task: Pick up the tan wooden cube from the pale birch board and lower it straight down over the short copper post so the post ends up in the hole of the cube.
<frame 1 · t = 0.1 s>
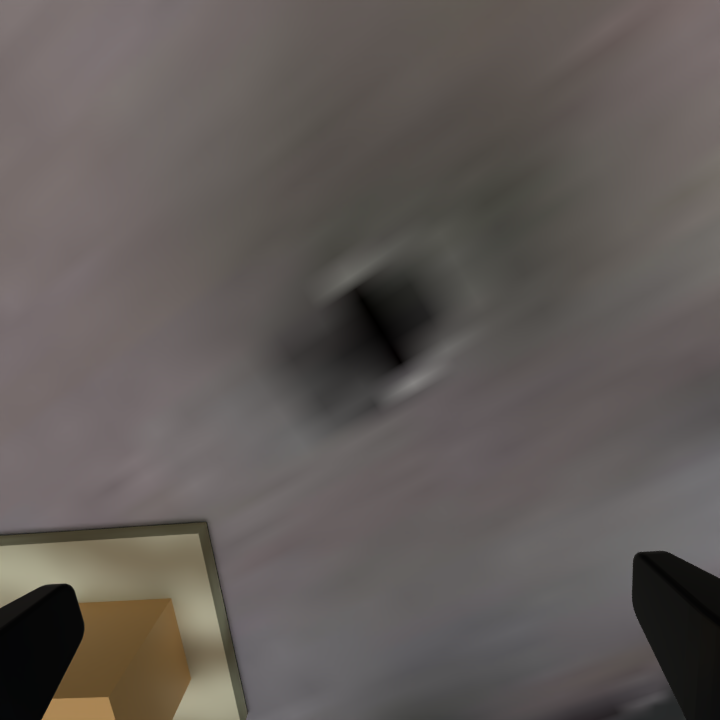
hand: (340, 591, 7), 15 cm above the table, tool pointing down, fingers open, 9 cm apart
tan wooden cube: (135, 641, 25), point 1 cm above the table, touching birch board
birch board: (64, 630, 26), on the table
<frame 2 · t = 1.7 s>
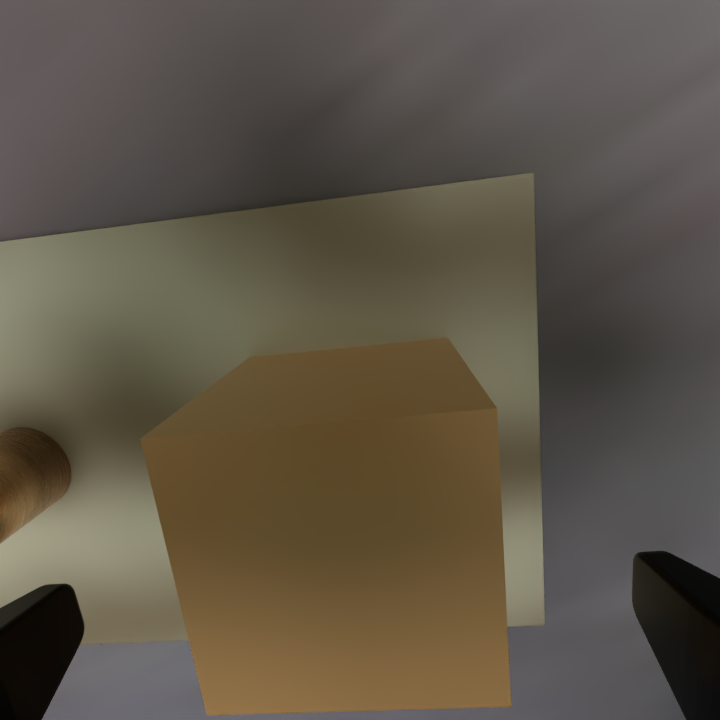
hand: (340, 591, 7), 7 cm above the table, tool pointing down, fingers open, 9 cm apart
tan wooden cube: (358, 440, 13), point 1 cm above the table, touching birch board
birch board: (202, 440, 14), on the table
copper post: (29, 467, 13), resting on birch board
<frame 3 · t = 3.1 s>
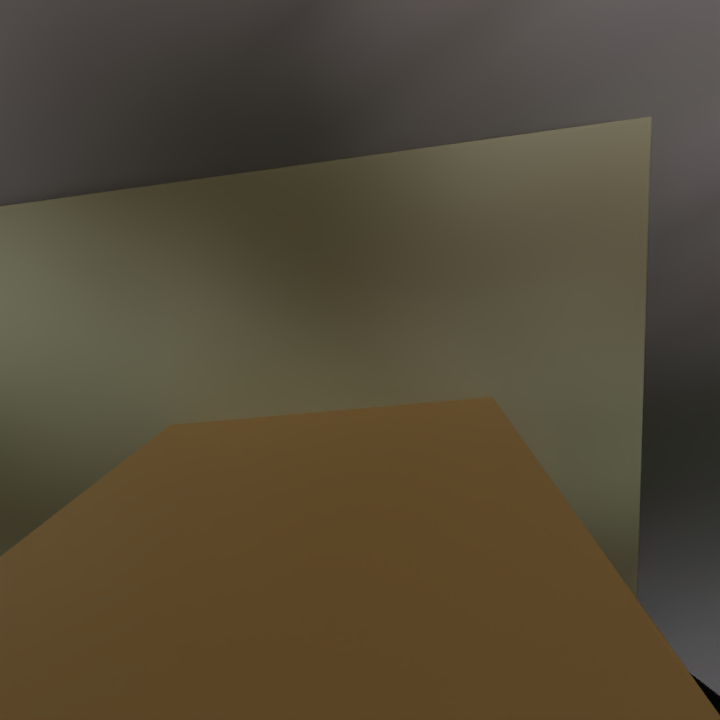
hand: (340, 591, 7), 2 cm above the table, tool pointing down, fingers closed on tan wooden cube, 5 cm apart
tan wooden cube: (345, 553, 8), point 1 cm above the table, touching birch board, gripper
birch board: (115, 536, 9), on the table
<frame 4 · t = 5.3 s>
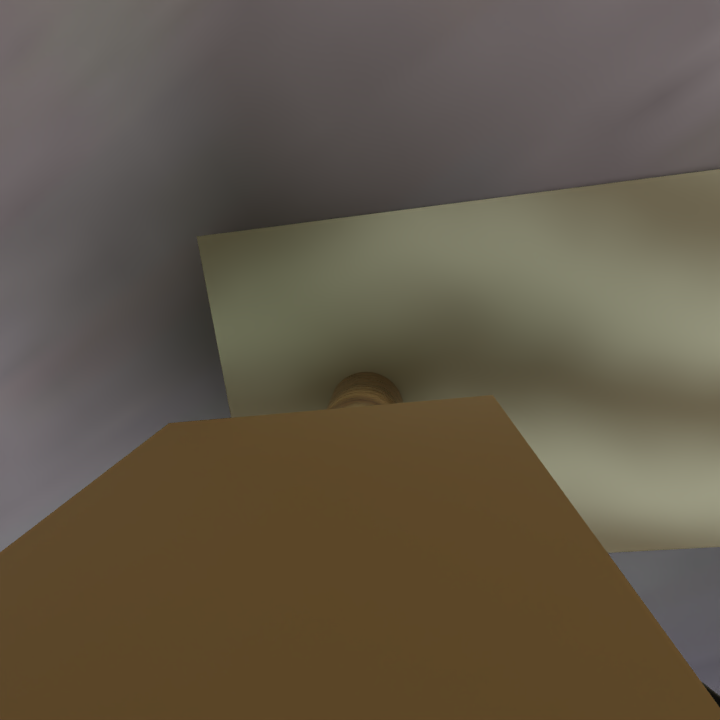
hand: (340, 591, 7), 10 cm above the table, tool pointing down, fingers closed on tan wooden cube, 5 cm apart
tan wooden cube: (345, 552, 8), point 9 cm above the table, touching gripper
birch board: (502, 385, 16), on the table
copper post: (366, 406, 16), resting on birch board
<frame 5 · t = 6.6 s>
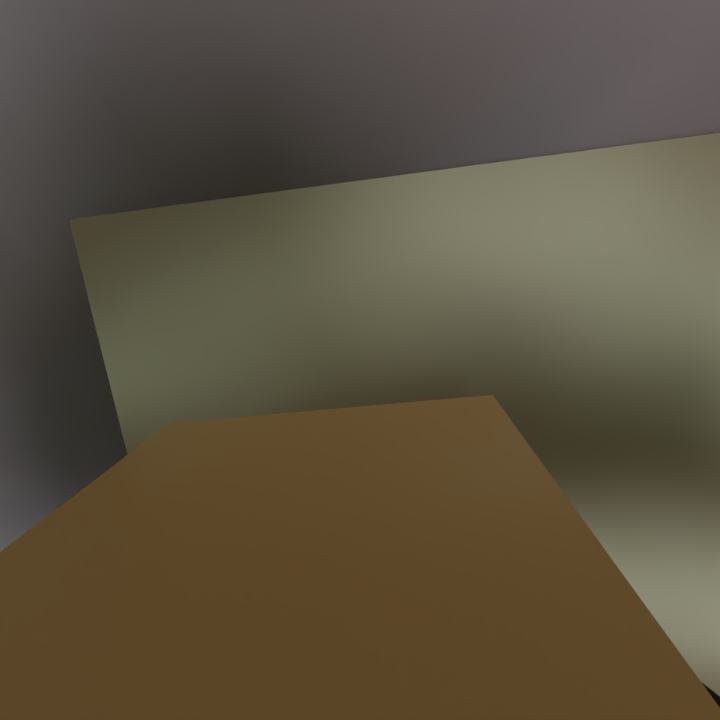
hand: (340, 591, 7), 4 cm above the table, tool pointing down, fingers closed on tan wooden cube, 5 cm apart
tan wooden cube: (345, 552, 8), point 3 cm above the table, touching gripper
birch board: (565, 456, 10), on the table
when the fingers open (3 cm above the table, at t = 7.6 s): tan wooden cube drops 2 cm, resting on birch board.
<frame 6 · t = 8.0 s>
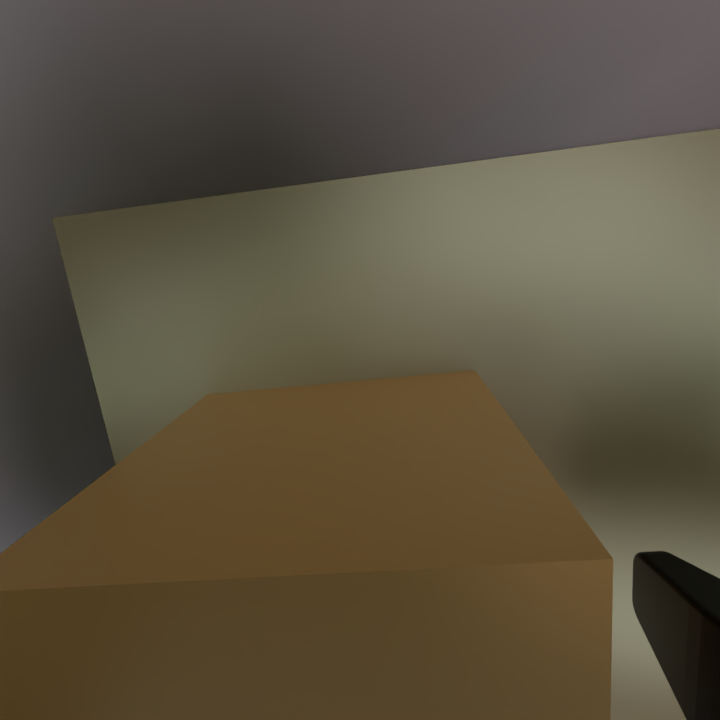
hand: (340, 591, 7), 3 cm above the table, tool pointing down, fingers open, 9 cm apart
tan wooden cube: (353, 504, 9), point 1 cm above the table, touching birch board
birch board: (575, 466, 10), on the table
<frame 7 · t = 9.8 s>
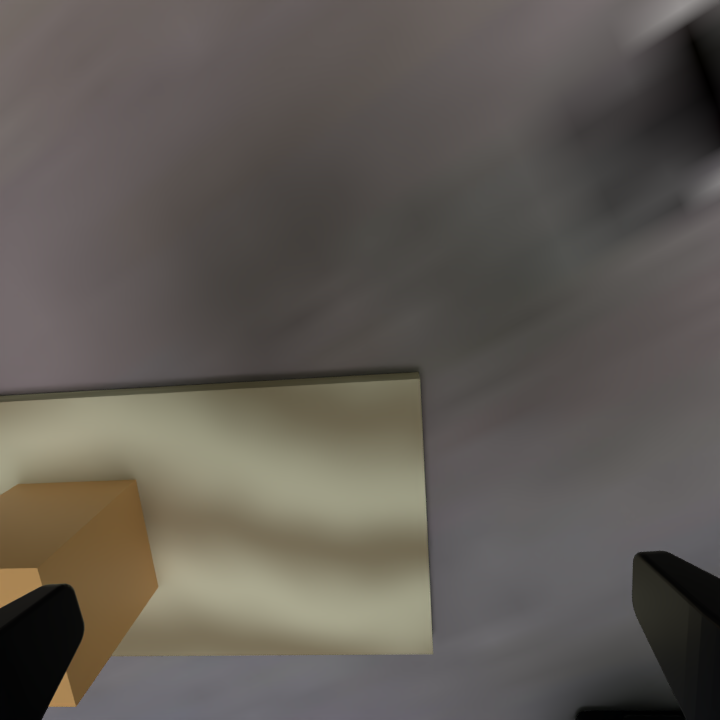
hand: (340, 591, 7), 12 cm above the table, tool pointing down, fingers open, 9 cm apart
tan wooden cube: (89, 536, 20), point 1 cm above the table, touching birch board
birch board: (206, 520, 20), on the table
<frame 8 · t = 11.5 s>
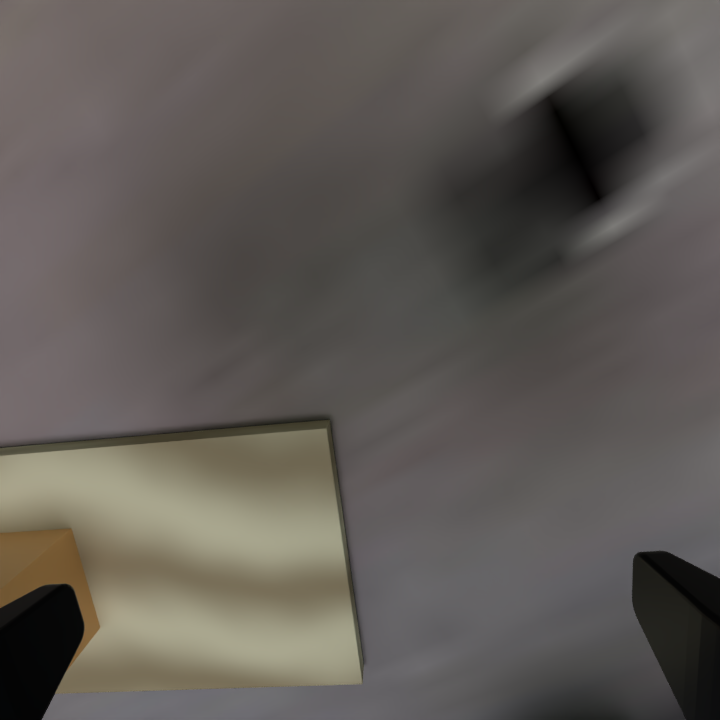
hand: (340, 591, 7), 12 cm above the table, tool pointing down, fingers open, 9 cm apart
tan wooden cube: (32, 582, 21), point 1 cm above the table, touching birch board
birch board: (143, 562, 22), on the table
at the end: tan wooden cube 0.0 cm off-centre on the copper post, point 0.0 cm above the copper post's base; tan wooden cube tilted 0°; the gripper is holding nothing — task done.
